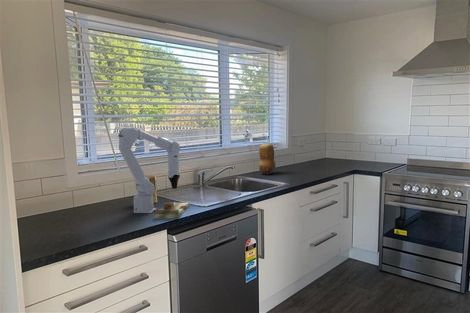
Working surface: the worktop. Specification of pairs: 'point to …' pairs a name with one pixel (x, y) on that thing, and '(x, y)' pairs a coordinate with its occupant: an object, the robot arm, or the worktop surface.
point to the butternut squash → (266, 158)
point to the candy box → (153, 181)
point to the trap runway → (171, 211)
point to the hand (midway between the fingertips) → (174, 188)
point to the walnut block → (168, 206)
